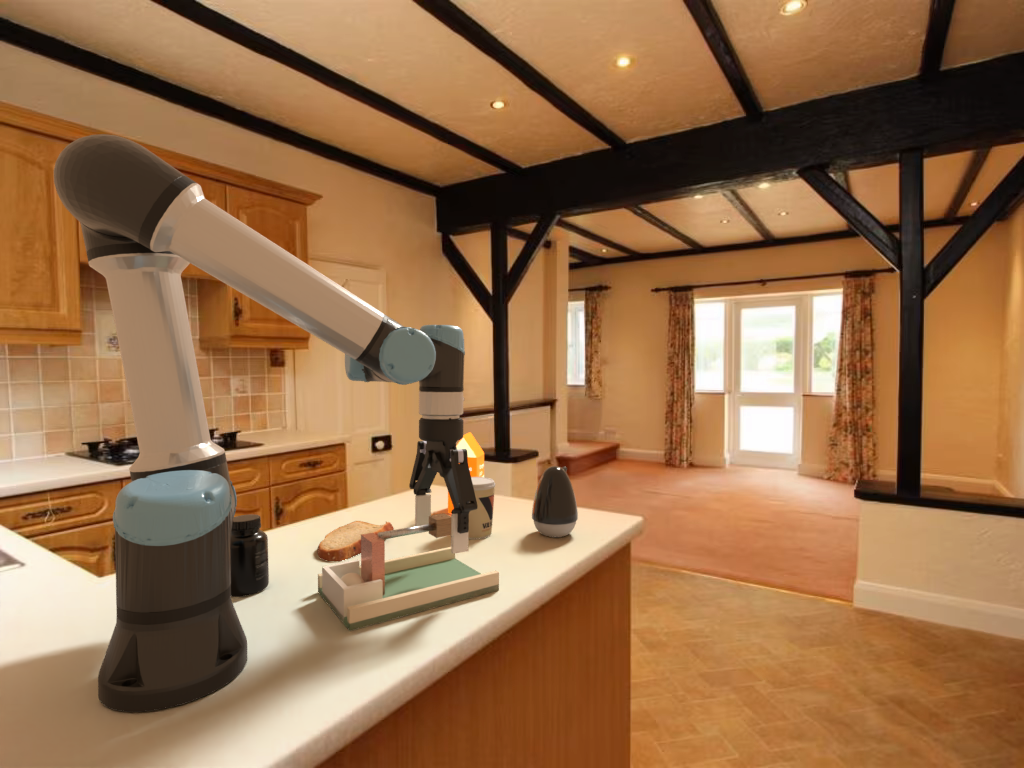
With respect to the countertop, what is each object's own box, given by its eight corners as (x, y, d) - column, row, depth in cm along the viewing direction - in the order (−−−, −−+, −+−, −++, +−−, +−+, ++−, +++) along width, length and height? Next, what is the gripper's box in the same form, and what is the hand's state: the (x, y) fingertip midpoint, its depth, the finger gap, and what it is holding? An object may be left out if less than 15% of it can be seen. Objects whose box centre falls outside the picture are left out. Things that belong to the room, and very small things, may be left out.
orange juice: (447, 513, 138) (447, 435, 138) (456, 505, 147) (456, 431, 146) (477, 515, 137) (477, 436, 136) (484, 506, 146) (485, 432, 145)
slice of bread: (324, 566, 102) (324, 546, 102) (304, 540, 117) (304, 523, 117) (414, 549, 112) (414, 531, 112) (385, 527, 127) (385, 512, 127)
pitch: (349, 630, 76) (349, 595, 76) (318, 592, 89) (317, 562, 89) (498, 590, 90) (499, 560, 90) (452, 562, 103) (452, 536, 103)
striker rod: (372, 597, 84) (372, 533, 83) (361, 587, 88) (360, 525, 87) (455, 577, 92) (455, 518, 92) (441, 568, 96) (441, 512, 96)
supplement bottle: (259, 578, 95) (259, 510, 95) (275, 589, 90) (274, 517, 90) (217, 589, 90) (216, 517, 90) (230, 601, 85) (229, 526, 85)
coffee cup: (489, 541, 116) (489, 485, 115) (447, 539, 118) (447, 483, 117) (499, 529, 125) (499, 477, 125) (460, 526, 127) (460, 475, 126)
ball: (371, 593, 84) (348, 609, 82) (362, 585, 87) (339, 600, 85) (362, 572, 83) (337, 587, 81) (353, 564, 86) (329, 579, 84)
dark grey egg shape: (585, 531, 123) (585, 464, 123) (564, 544, 114) (565, 472, 114) (546, 524, 129) (546, 460, 128) (523, 536, 120) (523, 467, 120)
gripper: (500, 421, 84) (498, 557, 85) (428, 411, 105) (427, 520, 105) (457, 423, 80) (456, 566, 80) (391, 412, 101) (391, 526, 101)
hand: (440, 540), depth 93 cm, fingers open, 13 cm apart
